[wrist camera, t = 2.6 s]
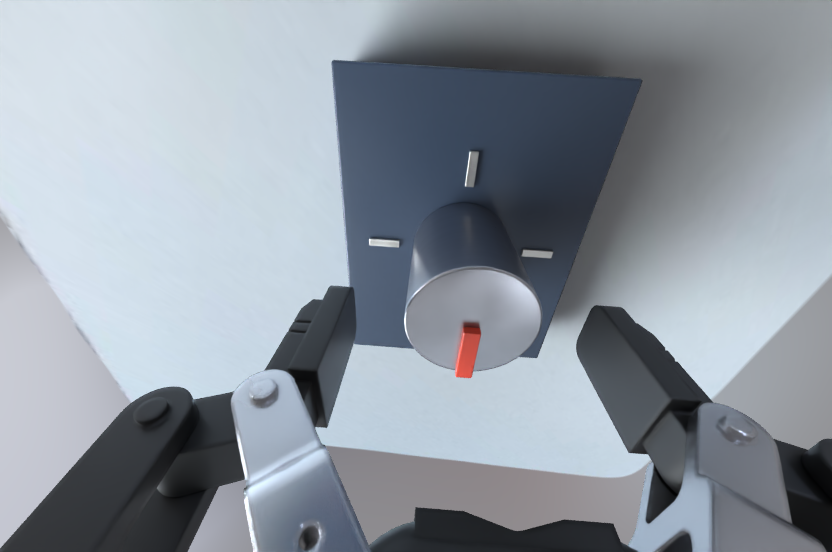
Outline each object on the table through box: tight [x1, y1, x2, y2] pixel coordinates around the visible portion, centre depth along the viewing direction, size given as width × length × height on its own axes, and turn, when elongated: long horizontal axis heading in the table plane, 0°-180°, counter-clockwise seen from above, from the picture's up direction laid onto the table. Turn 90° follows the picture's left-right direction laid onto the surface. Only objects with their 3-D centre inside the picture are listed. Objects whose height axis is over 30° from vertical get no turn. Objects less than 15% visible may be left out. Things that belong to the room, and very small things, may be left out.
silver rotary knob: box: [404, 203, 543, 378], centre depth 12 cm, size 4×4×6 cm
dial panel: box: [332, 60, 642, 358], centre depth 16 cm, size 14×11×3 cm
